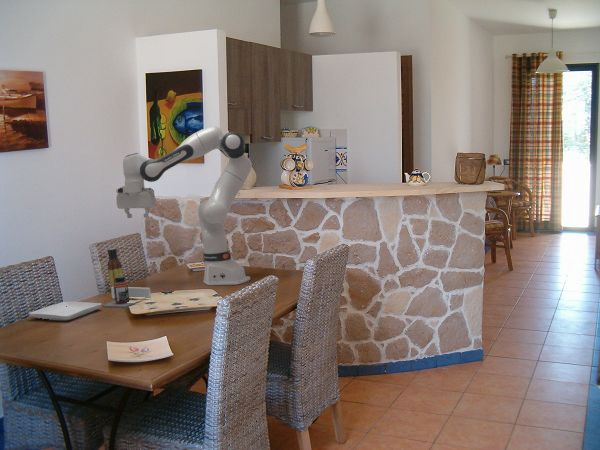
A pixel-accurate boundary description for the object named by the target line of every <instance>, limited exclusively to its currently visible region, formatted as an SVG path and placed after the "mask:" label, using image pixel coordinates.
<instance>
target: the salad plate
mask: <svg viewBox="0 0 600 450" xmlns="http://www.w3.org/2000/svg"><path fill="white" fill-rule="evenodd" d="M102 304H103V303H101V302H100V303H99V302H83V301H63V302H59V303H58V302H57V303H55V304H52V305H49V306H45V307H43V308H40V309H36V310H34V311H31V312H28V315H29V316H31V317H32V318H36V319H40V318H42V319H41V320H44V319H49V320H48V321H60V322H61V321H62V322H63V321H71V320H75V319H77V318H79V317H82V316H85V315H88V314H91V313H92V312H94V311H96V310H98V309H99V308H100V307H102ZM66 306H67V307H66Z"/></svg>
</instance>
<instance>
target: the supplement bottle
mask: <svg viewBox="0 0 600 450" xmlns="http://www.w3.org/2000/svg"><path fill="white" fill-rule="evenodd" d="M113 285H114V294H115V299H114V301H115V302H116V303H117V304H123V303H127V302H129V291H128V287H129V283H128V281H127V280H126V278H125V275H123V276H117V277H115V282H114V284H113Z"/></svg>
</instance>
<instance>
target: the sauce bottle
mask: <svg viewBox="0 0 600 450" xmlns="http://www.w3.org/2000/svg"><path fill="white" fill-rule="evenodd" d="M117 252H118V251H117V248H116V247H114V248H113V247H112V248H108V249H107V253H108V262H107V269H108V276H109V284H110V288H111V287H114V285H113V284H114V282H115V277H117V276H124V273H123V269H122V264H121V261H120V260H119V258H118V253H117Z"/></svg>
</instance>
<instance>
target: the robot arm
mask: <svg viewBox="0 0 600 450" xmlns="http://www.w3.org/2000/svg"><path fill="white" fill-rule="evenodd" d="M245 146H246V144H245V139H244V137H243V135H242V134H240V133H239V132H237V131H229V132H227V133H223V131H222V130H221V128H219V127H218V126H217V125H210V126H207V127H204V128H202V129H200V130H198V131H196V132H194V133H192V134H191V135H189V136H188V137H187V138H186V139H184V140H183V141H182V142H181V143H180V145H178V146H177V147H176V148H175V149H174V150H172V151H170V152H169V153H167V154H164V155H163V156H161V157H158V158H155V159H153V158H150V157H147V156H144V155H142V154H141V153H139V152H136V153H135V152H134V153H132V154H128V155H126V156H124V158H123V161H122V169H123V170H122V171H123V177H124V185H122V186H121V187H118V188H116V197H115V198H116V206H117V208H118V209H119V210H121V209H123V210H124V212H125V214H126V217H127V219H131V218H133V215H132V213H131V211H130V209H144V211H145V213H143V218H144V219H146V218H149V214H150V210H151V209H153V208H155V207H157V200H156V195H155V190H154V189H153V188H151V187H145V181H147V182H151V183H153V182H157V181H159V179H161V178H162V176H163V175H164V173H165V172H166V171H167V170H170V169H171V168H174V167H175V166H177V165H179V164H180V163H182V162H185V161H188V160H193V159H194V160H195V159H198V158H200V157H203V156H205V155H207V154H209V153H210V152H212V151H215V150H217V149H218V150H219V151H220V152H221V153H222V154H223V155H224V156H225V157H226V158H228V163H227V165H226V167H225V168H224V170H223V171H222V173H221V174H220V177H219V178H218V180H217V181H216V182H215V183H214V184H215V185H214V187H213V189H212V191H211V194H210V196H209V198H206V199H204V200H202V201H201V202H200V203H199V205H198V208H197V212H198V220H199V221H198V222H199V226H200V230H201V235H202V237H201V238H202V245H203V246H202V247H203V254H202V255H203V263H204V275H203V281H202V282H203V284H206V286H232V285H236V286H237V285H241V284H244V283H248V281H250V280H251V276H248V275H247V276H246V272H245V268H244V266H243V265H241V264H240V263H238V262H237V261H235V260H234V259H233V258H232V256H233V252H230V251H229V250H228V243H227V242H228V241H227V234H226V230H225V229H226V228H225V225H224V221H225V220H226V218H227V217H228V216H227V215H228V213H229V211H230V210H231V207H232V205H233V203H234V200H235V199H236V196H237V195H238V193H239V192H240V190H241V188H242V187H243V185H244V183H246V181H247V178H248V177H249V174H250V173H251V170H252V167H253V163H252V161H251V159H250V158H249V157H248V156H246V155H245V148H246V147H245Z"/></svg>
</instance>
